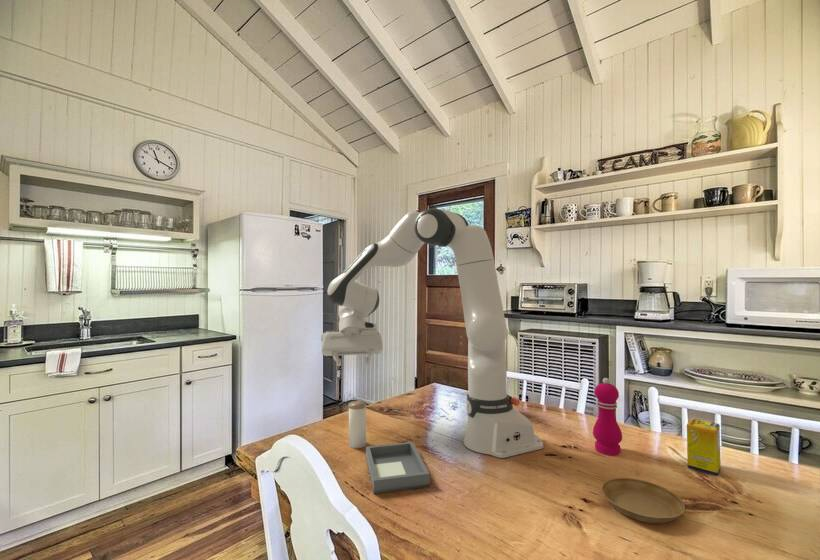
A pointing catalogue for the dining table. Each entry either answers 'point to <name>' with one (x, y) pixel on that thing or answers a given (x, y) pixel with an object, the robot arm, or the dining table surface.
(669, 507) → the plant saucer
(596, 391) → the pepper mill
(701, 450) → the supplement box
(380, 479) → the tray
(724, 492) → the dining table surface
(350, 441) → the tube
